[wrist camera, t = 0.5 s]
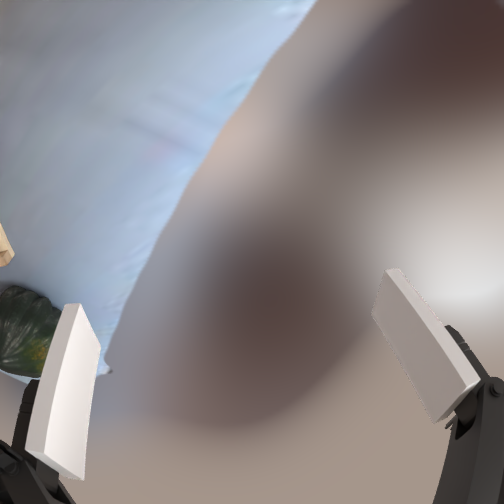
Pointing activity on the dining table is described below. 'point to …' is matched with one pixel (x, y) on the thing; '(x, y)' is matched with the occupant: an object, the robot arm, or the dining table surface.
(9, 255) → the rail board
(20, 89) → the dining table surface
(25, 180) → the dining table surface
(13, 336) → the squash
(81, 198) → the dining table surface
